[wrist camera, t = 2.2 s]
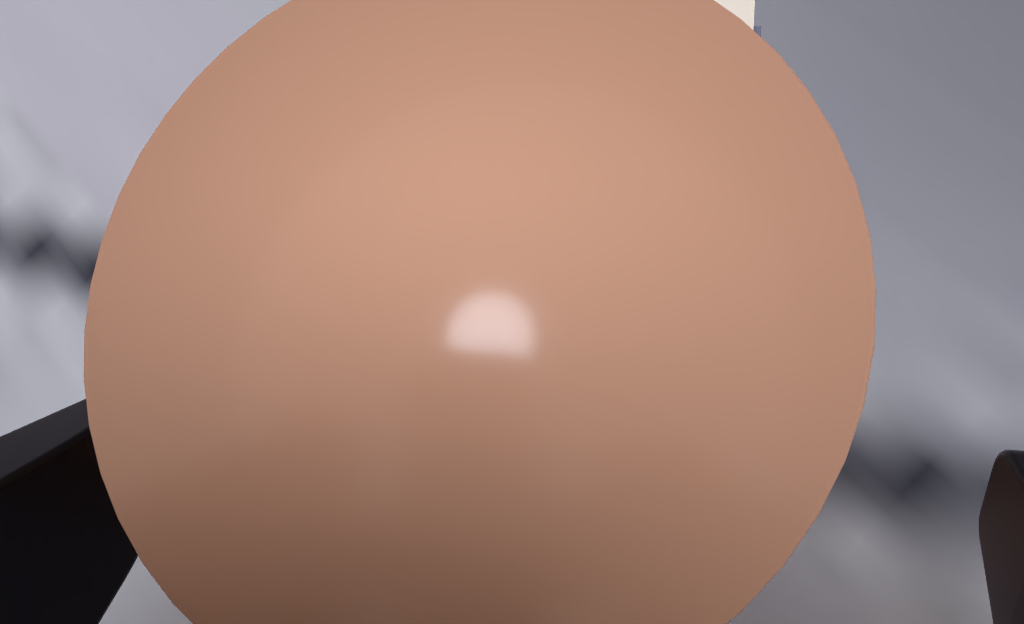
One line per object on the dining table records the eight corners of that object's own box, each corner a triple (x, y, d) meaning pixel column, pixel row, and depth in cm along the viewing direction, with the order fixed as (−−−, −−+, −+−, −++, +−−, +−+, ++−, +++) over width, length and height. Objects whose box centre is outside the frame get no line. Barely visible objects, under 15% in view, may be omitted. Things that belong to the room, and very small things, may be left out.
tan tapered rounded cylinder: (789, 548, 16) (1047, 550, 5) (533, 636, 17) (161, 847, 5) (686, 301, 18) (678, -173, 6) (454, 389, 18) (33, 106, 7)
